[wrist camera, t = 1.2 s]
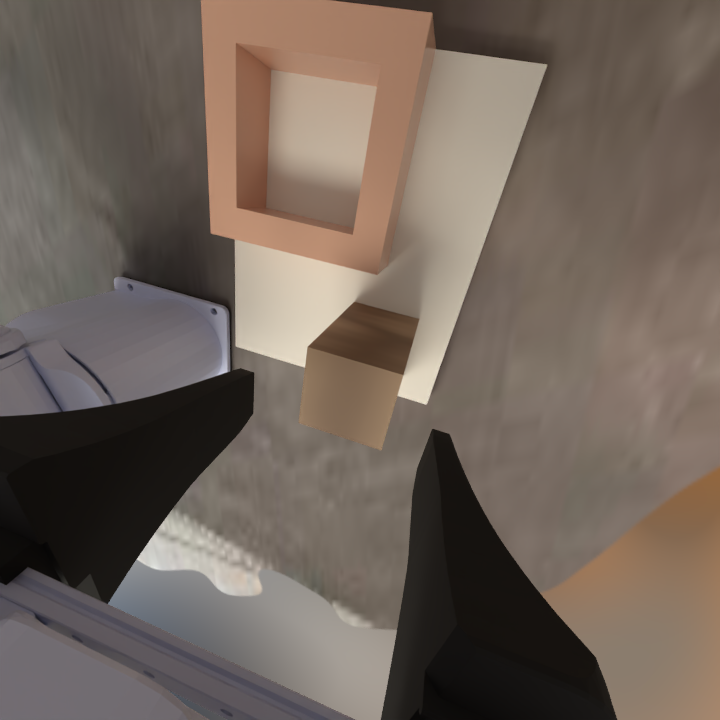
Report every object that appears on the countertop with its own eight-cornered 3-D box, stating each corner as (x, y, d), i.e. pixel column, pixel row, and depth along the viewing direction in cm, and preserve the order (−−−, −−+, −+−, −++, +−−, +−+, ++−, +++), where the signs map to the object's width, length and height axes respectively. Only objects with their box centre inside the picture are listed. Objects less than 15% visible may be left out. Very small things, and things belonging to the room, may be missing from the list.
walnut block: (343, 359, 21) (298, 422, 14) (354, 301, 19) (307, 346, 13) (402, 376, 20) (381, 450, 14) (419, 319, 18) (403, 375, 12)
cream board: (243, 341, 23) (235, 346, 22) (245, 31, 15) (233, 20, 14) (427, 396, 21) (426, 404, 20) (541, 73, 13) (547, 64, 12)
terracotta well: (242, 230, 19) (210, 233, 16) (243, 22, 14) (200, -16, 12) (387, 265, 17) (377, 274, 15) (436, 49, 13) (432, 12, 11)
